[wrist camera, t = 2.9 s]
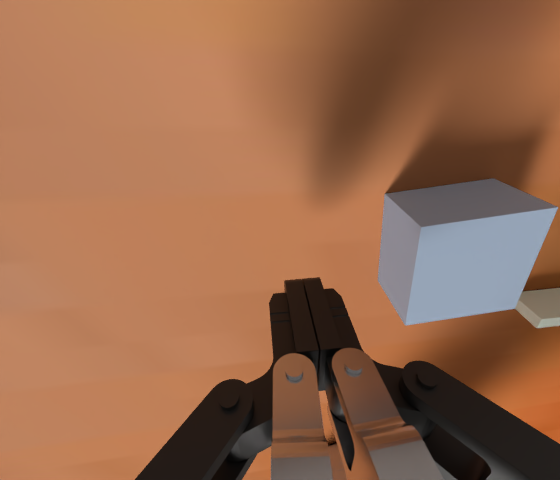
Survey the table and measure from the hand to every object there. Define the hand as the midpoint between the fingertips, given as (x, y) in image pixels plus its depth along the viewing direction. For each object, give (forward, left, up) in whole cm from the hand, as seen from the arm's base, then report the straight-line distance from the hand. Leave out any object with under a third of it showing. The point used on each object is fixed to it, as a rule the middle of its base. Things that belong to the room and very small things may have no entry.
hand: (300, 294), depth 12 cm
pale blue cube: (-3, -8, -5) cm, 10 cm away
